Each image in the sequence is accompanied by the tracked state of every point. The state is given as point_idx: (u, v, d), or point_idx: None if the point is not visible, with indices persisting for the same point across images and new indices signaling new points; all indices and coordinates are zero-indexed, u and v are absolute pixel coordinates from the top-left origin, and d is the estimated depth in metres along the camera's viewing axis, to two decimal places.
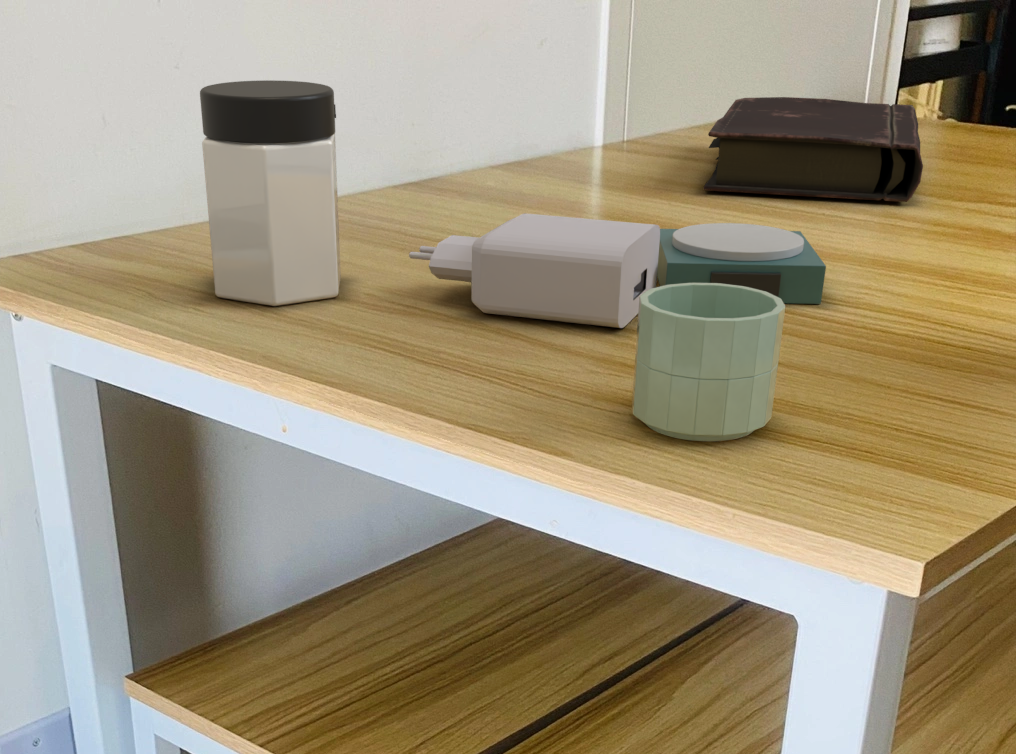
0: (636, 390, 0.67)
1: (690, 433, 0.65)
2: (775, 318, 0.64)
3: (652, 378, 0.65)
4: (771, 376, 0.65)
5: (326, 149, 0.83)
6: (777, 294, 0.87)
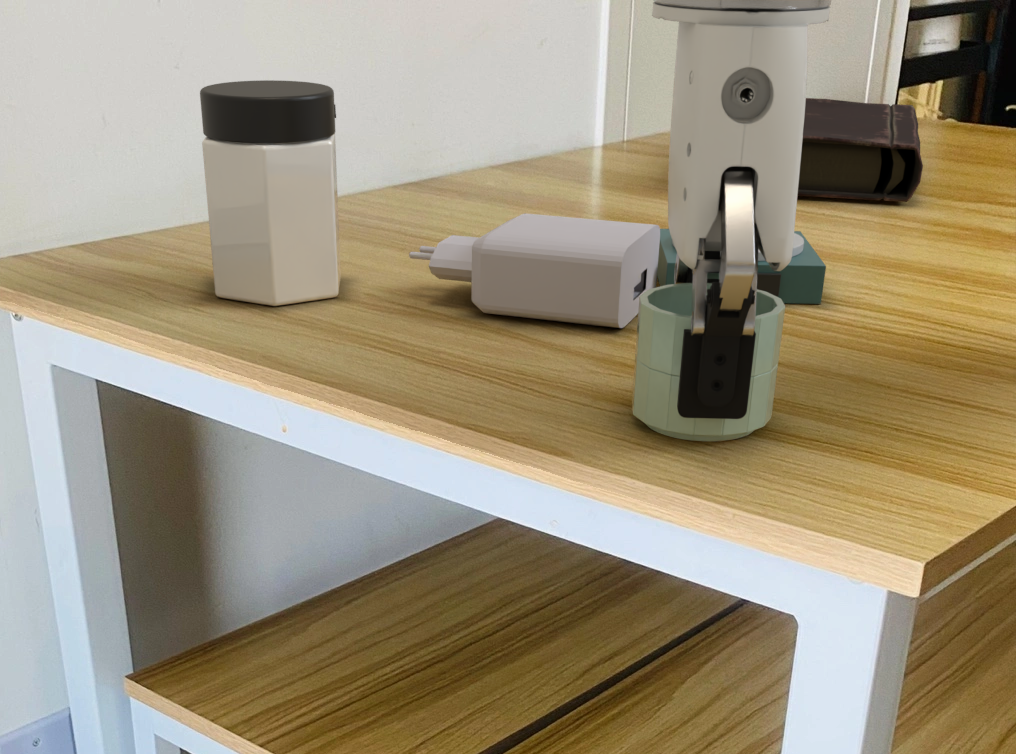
0: (636, 390, 0.67)
1: (690, 433, 0.65)
2: (775, 318, 0.64)
3: (652, 378, 0.65)
4: (771, 376, 0.65)
5: (326, 149, 0.83)
6: (777, 294, 0.87)
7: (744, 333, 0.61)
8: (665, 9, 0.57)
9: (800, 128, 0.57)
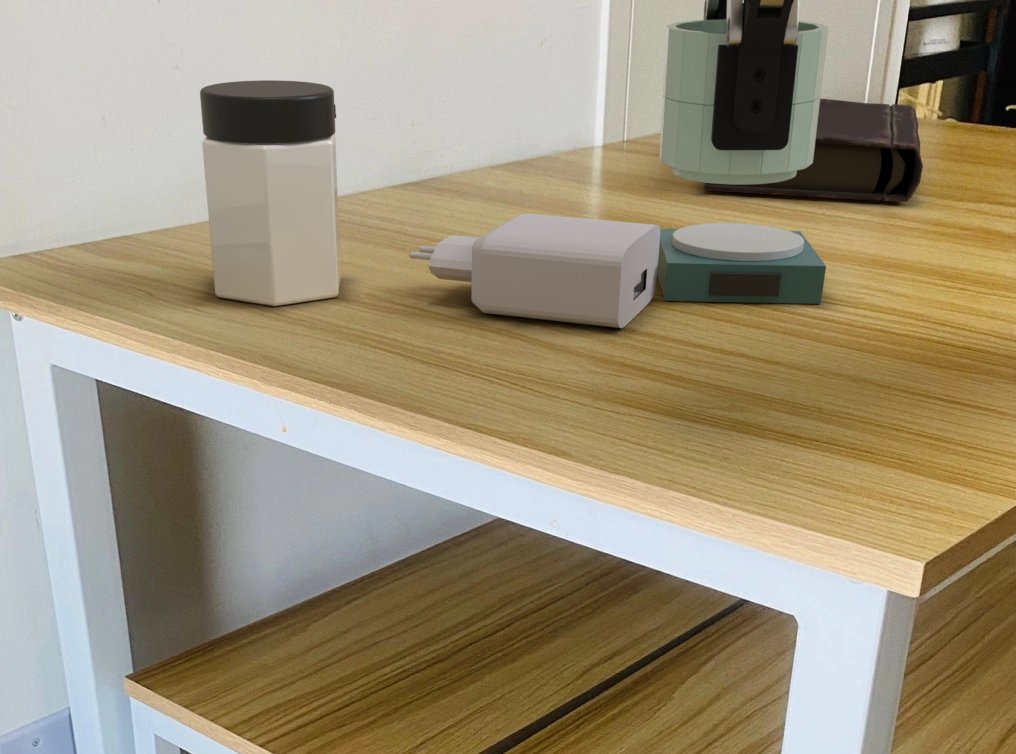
0: (664, 133, 0.61)
1: (725, 173, 0.59)
2: (818, 37, 0.58)
3: (682, 113, 0.59)
4: (813, 108, 0.59)
5: (326, 149, 0.83)
6: (777, 294, 0.87)
7: (786, 42, 0.55)
8: None
9: None
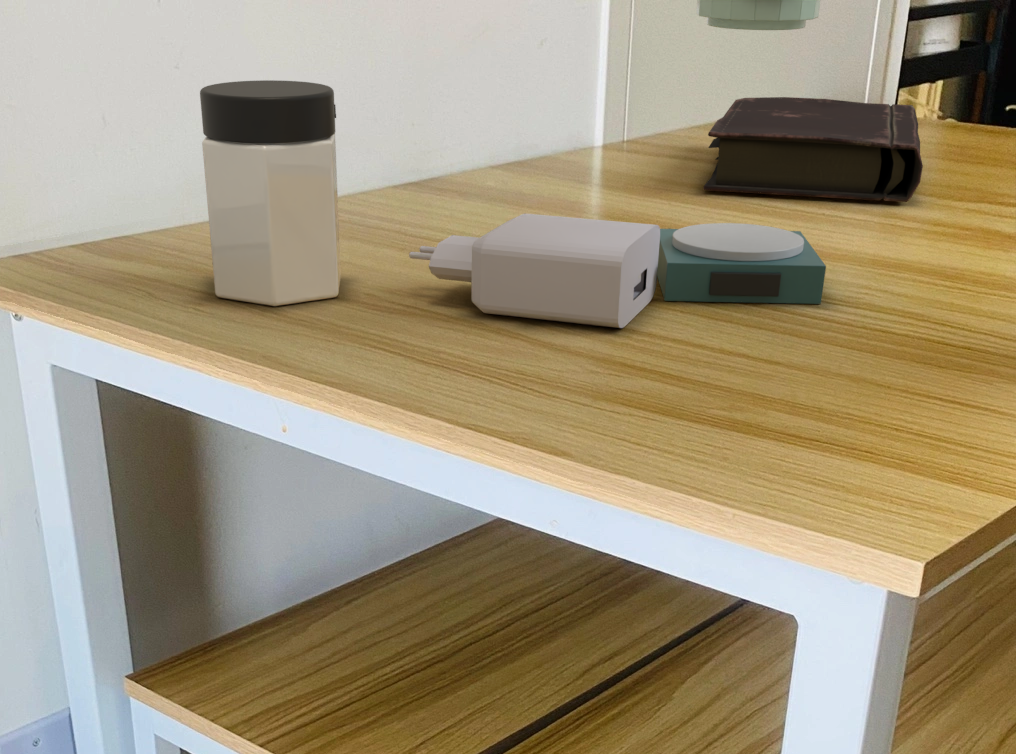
0: None
1: (751, 19, 0.76)
2: None
3: None
4: None
5: (326, 149, 0.83)
6: (777, 294, 0.87)
7: None
8: None
9: None
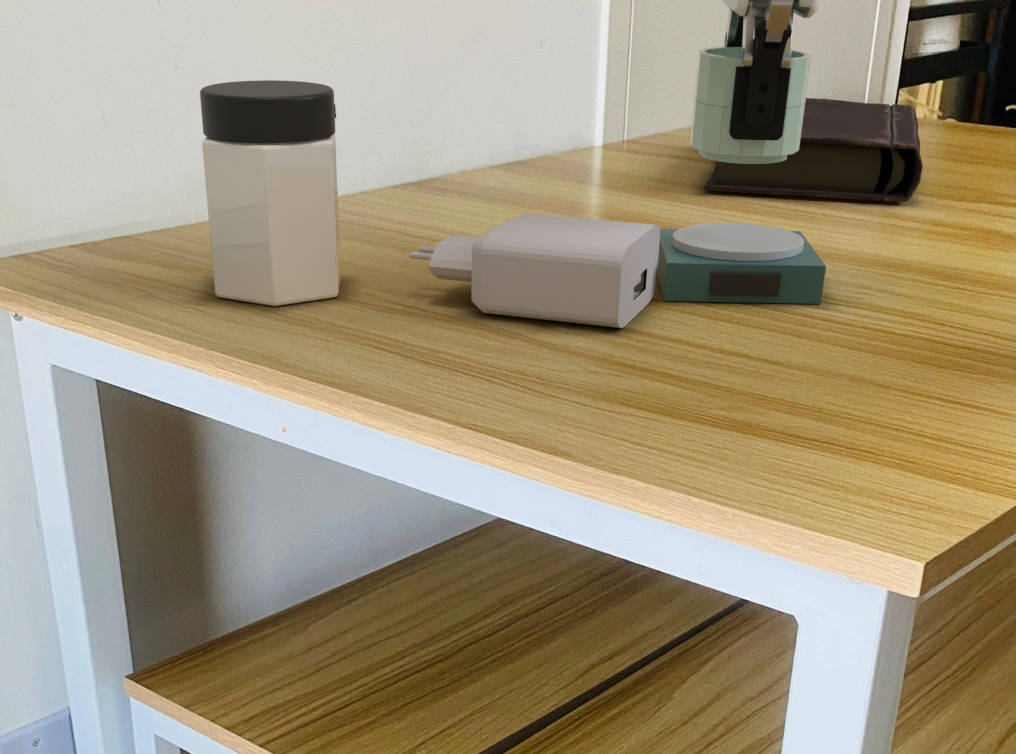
0: (695, 126, 0.86)
1: (737, 155, 0.85)
2: (804, 62, 0.83)
3: (708, 112, 0.85)
4: (800, 111, 0.85)
5: (326, 149, 0.83)
6: (777, 294, 0.87)
7: (782, 66, 0.81)
8: None
9: None
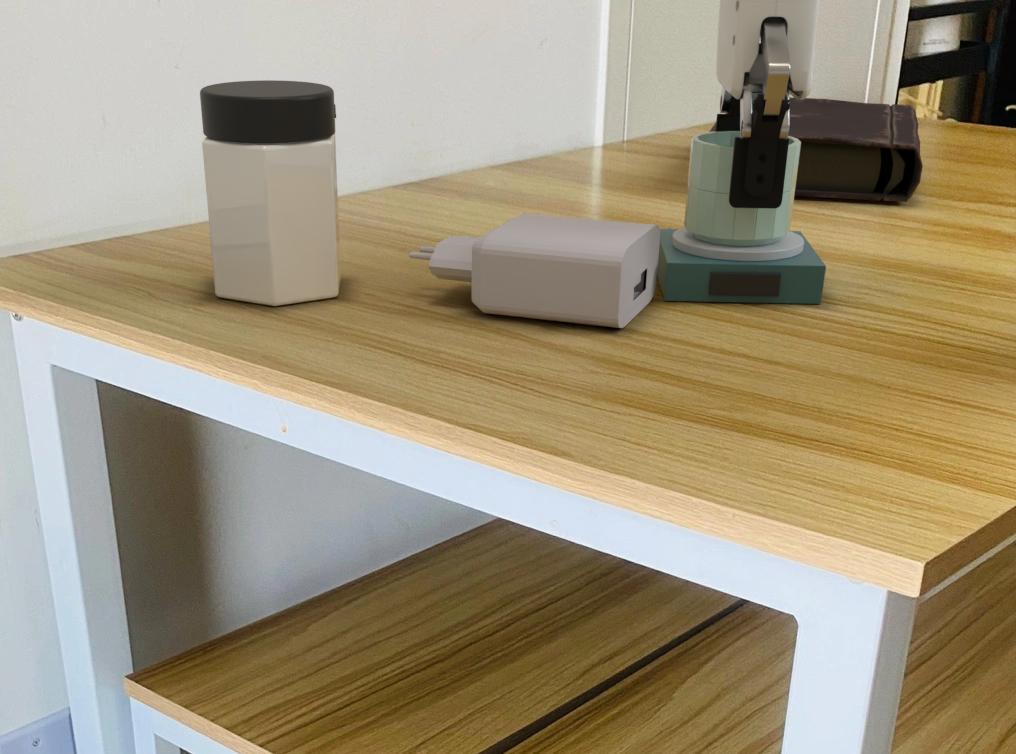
0: (688, 209, 0.89)
1: (730, 238, 0.87)
2: (793, 149, 0.86)
3: (701, 197, 0.87)
4: (790, 195, 0.87)
5: (326, 149, 0.83)
6: (777, 294, 0.87)
7: (781, 135, 0.81)
8: None
9: None
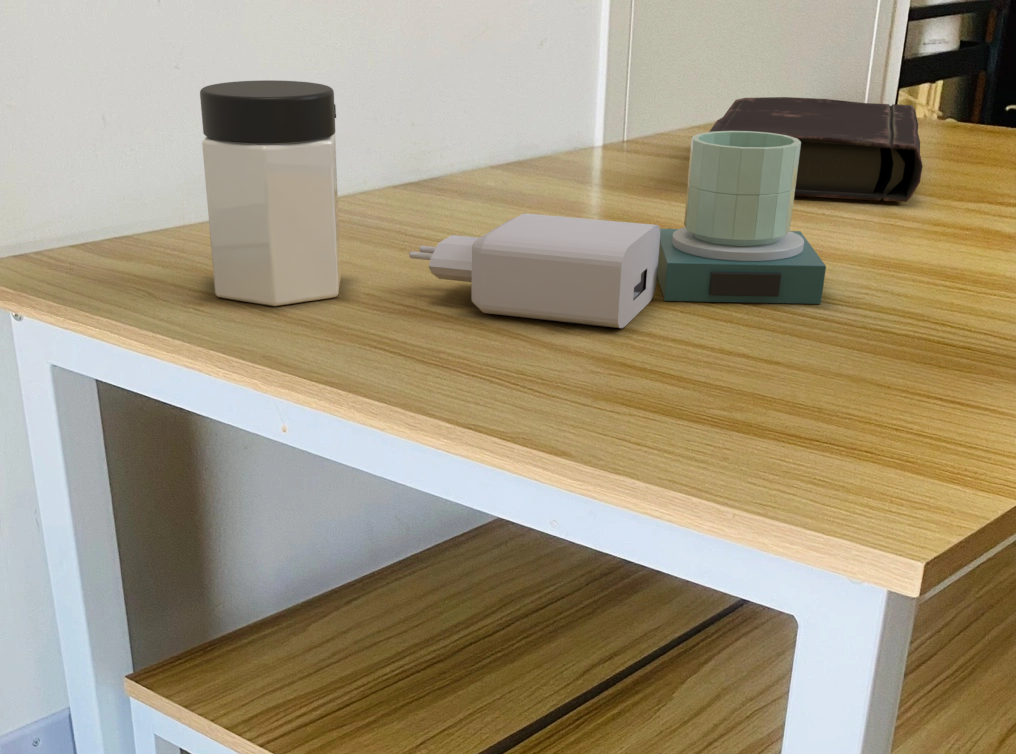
0: (688, 209, 0.89)
1: (730, 238, 0.87)
2: (793, 149, 0.86)
3: (701, 197, 0.87)
4: (790, 195, 0.87)
5: (326, 149, 0.83)
6: (777, 294, 0.87)
7: None
8: None
9: None
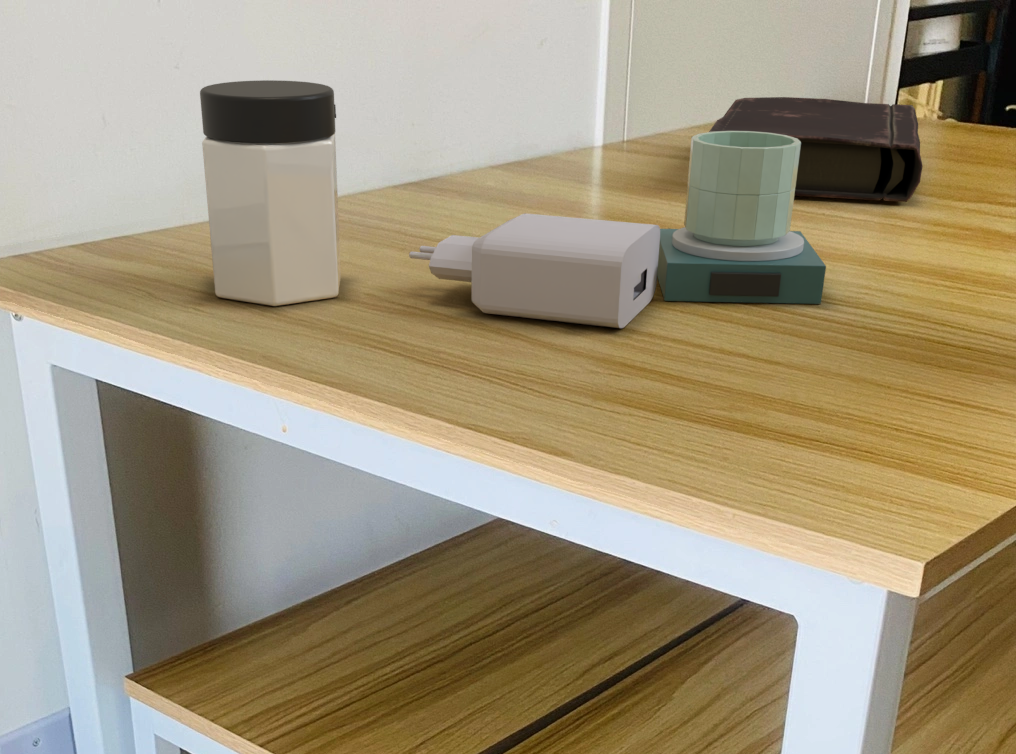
0: (688, 209, 0.89)
1: (730, 238, 0.87)
2: (793, 149, 0.86)
3: (701, 197, 0.87)
4: (790, 195, 0.87)
5: (327, 149, 0.83)
6: (777, 294, 0.87)
7: None
8: None
9: None
